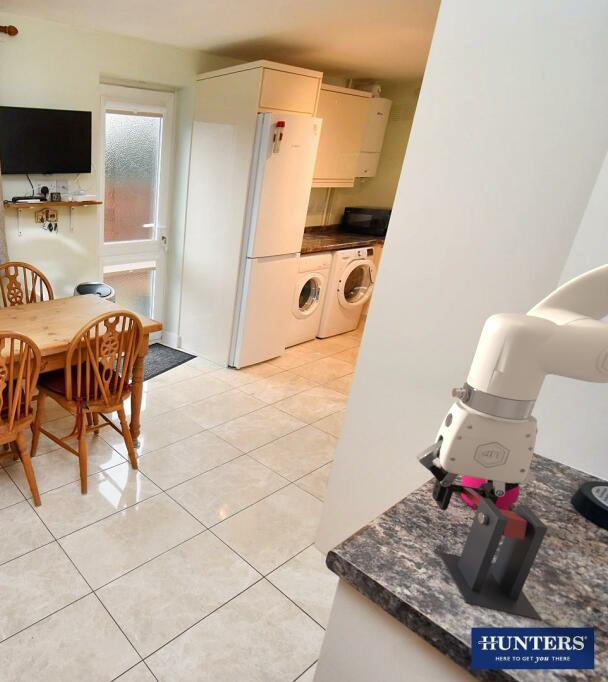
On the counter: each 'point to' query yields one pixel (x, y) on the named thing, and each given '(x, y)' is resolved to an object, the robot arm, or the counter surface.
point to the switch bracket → (510, 567)
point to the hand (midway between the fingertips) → (460, 507)
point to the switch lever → (514, 523)
